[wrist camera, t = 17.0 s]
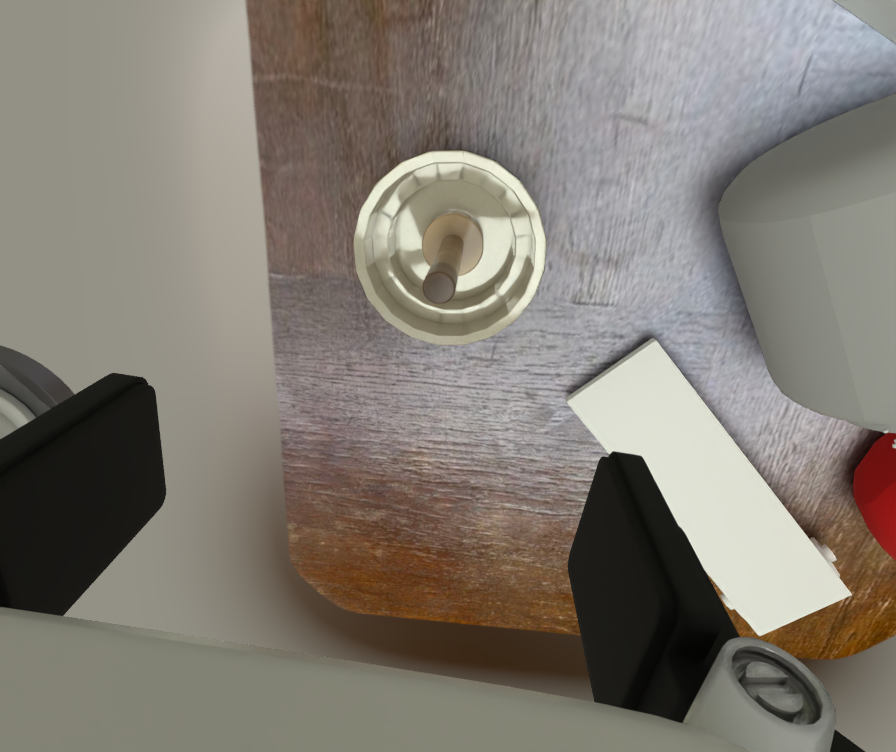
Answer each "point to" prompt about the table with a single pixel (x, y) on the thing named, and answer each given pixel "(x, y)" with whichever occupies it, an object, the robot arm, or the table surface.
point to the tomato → (878, 491)
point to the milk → (874, 14)
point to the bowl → (401, 257)
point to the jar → (823, 263)
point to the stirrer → (450, 253)
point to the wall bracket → (710, 490)
